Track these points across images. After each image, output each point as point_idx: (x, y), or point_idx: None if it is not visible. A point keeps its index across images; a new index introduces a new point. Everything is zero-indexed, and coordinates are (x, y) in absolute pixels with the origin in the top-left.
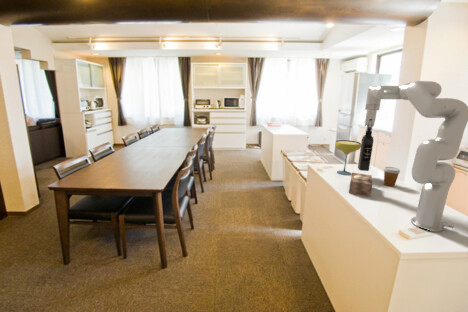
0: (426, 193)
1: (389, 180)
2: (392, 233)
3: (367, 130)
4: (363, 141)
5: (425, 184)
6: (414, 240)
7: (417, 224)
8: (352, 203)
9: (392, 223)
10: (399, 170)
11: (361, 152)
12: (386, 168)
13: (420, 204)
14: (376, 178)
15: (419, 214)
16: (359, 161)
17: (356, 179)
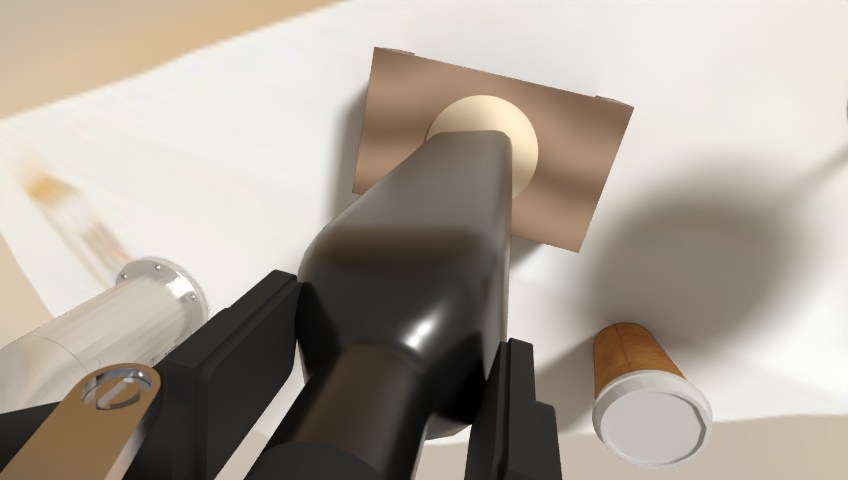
0: (3, 347)
1: (600, 357)
2: (38, 155)
3: (83, 398)
4: (340, 217)
5: (1, 377)
6: (33, 212)
7: (128, 267)
8: (243, 45)
9: (116, 183)
10: (621, 458)
11: (413, 166)
12: (666, 396)
13: (78, 309)
14: (769, 320)
15: (111, 289)
16: (462, 142)
17: (435, 106)
